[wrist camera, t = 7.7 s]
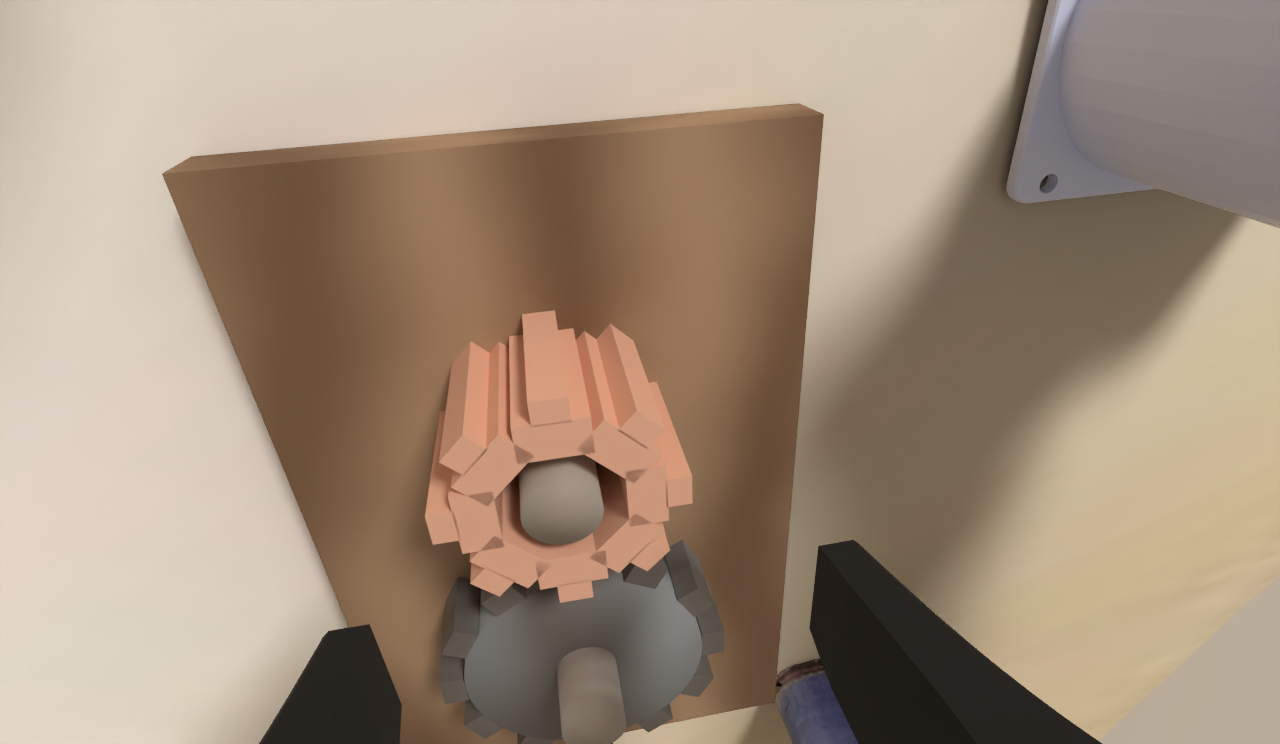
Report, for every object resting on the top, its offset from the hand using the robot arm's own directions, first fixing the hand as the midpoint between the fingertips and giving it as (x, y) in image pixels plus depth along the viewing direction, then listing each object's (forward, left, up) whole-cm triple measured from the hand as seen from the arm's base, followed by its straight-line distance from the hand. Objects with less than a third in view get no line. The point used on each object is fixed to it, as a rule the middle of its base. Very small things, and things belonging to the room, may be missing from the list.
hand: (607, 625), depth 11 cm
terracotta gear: (+1, +1, -8) cm, 8 cm away
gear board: (+1, +5, -9) cm, 11 cm away
